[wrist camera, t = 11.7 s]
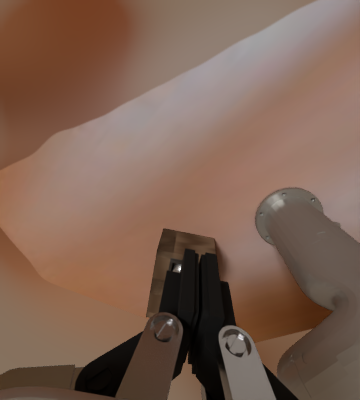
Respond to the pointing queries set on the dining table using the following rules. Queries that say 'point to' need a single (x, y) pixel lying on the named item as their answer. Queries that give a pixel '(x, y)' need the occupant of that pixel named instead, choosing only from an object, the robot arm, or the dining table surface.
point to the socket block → (173, 260)
